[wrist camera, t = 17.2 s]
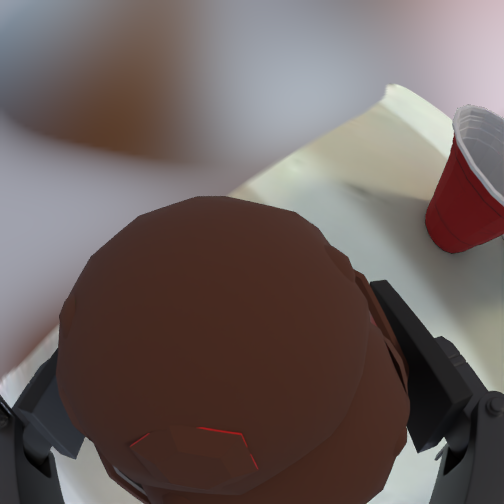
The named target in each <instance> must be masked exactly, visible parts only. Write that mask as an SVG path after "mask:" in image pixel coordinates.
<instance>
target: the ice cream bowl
mask: <svg viewBox="0 0 504 504" xmlns="http://www.w3.org/2000/svg"><path fill="white" fill-rule="evenodd" d="M59 319H60V327H59V343H58V359H57V368H56V379H57V385H58V391H59V396H60V398H61V401H62V403H63V405H64V407H65V410H66V412H67V414H68V416H69V418H70V420H71V422H72V424H73V426H74V427H75V428H76V429H78V430H79V431H80V432H81V433H82V434H83V435H84V436H86V437H87V438H88V439H89V440H90V441H92V442H93V443H94V445H95V447H96V450H97V452H98V454H99V456H100V459H101V461H102V463H103V465H104V467H105V469H106V471H107V473H108V475H109V477H110V478H111V479H112V480H114V481H115V482H116V483H117V484H119V485H120V486H121V487H122V488H124V489H125V490H126V491H128V492H129V493H130V494H132V495H133V496H134V497H136V498H137V499H138V500H140V501H141V502H143V503H144V504H366V503H367V502H369V501H370V500H371V499H372V498H374V497H375V496H376V495H377V494H378V493H379V492H381V491H382V490H383V488H384V486H385V484H386V481H387V479H388V477H389V474H390V472H391V469H392V467H393V464H394V461H395V459H396V456H398V455H399V454H400V452H401V451H402V449H403V448H404V446H405V445H406V443H407V428H406V425H407V422H408V418H409V415H410V400H409V397H408V386H407V382H408V376H409V365H408V363H407V361H406V358H405V356H404V354H403V352H402V350H401V347H400V345H399V343H398V341H397V339H396V337H395V334H394V332H393V330H392V328H391V326H390V324H389V322H388V320H387V318H386V316H385V314H384V312H383V310H382V308H381V306H380V304H379V302H378V300H377V298H376V296H375V294H374V292H373V290H372V289H371V287H370V285H369V283H368V281H367V279H366V277H365V276H364V275H363V274H362V273H360V272H358V271H356V270H354V269H353V268H352V265H351V263H350V261H349V258H348V257H347V256H346V255H345V254H343V253H342V252H340V251H339V250H337V249H336V248H335V247H333V246H331V245H330V244H329V242H328V241H327V240H326V238H325V237H324V235H323V234H322V233H321V231H320V230H319V228H317V227H316V226H314V225H313V224H311V223H310V222H309V221H307V220H306V219H304V218H303V217H301V216H300V215H299V214H297V213H296V212H293V211H289V210H284V209H280V208H276V207H272V206H267V205H263V204H259V203H254V202H250V201H245V200H240V199H236V198H231V197H226V196H201V197H200V196H199V197H194V198H191V199H187V200H184V201H181V202H179V203H175V204H172V205H169V206H166V207H163V208H160V209H157V210H154V211H151V212H149V213H146V214H143V215H140V216H138V217H137V218H136V219H135V220H133V221H132V222H131V223H130V224H128V225H127V226H126V227H125V228H124V229H123V230H121V231H120V232H119V233H118V234H116V235H115V236H114V237H113V238H112V239H111V240H109V241H108V242H107V243H106V244H105V245H104V246H103V247H101V248H100V249H99V250H98V251H97V252H96V253H95V254H93V255H92V256H91V257H90V259H89V261H88V262H87V264H86V266H85V268H84V270H83V271H82V273H81V274H80V276H79V278H78V280H77V282H76V283H75V285H74V287H73V289H72V291H71V293H70V295H69V297H68V298H67V299H66V301H65V302H64V305H63V307H62V310H61V313H60V315H59Z"/></svg>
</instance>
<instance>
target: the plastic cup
mask: <svg viewBox="0 0 504 504" xmlns="http://www.w3.org/2000/svg"><path fill="white" fill-rule="evenodd" d="M452 125H453V129H454V138H453V144H452V147H451V150H450V152H451V153H450V156H449V158H448V161H447V163H446V166H445V168H444V171H443V173H442V176H441V178H440V180H439V183H438V185H437V187H436V190H435V192H434V196H433V198H432V200H431V202H430V204H429V206H428V208H427V212H426V215H425V224H426V227H427V230H428V233H429V235H430V237H431V238H432V239H433V241H434V242H435V244H436V245H438V246H439V247H440V248H441V249H442V250H444V251H446V252H449V253H458V252H464V251H466V250H468V249H470V248H472V247H475V246H477V245H481V244H484V243H486V242H488V241H490V240H492V239H494V238H497V237H499V236H501V235H503V234H504V118H503V117H501V116H499V115H497V114H495V113H494V112H492V111H490V110H488V109H486V108H483V107H478V106H474V105H466V106H463V107H460V108H457V110H456V113H455V116H454V119H453V124H452Z"/></svg>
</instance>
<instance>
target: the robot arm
mask: <svg viewBox="0 0 504 504" xmlns="http://www.w3.org/2000/svg"><path fill="white" fill-rule="evenodd" d="M370 287H371V289H372V290H373V292H374V294H375V296H376V298H377V300H378V302H379V304H380V306H381V308H382V310H383V312H384V314H385V316H386V318H387V320H388V322H389V324H390V326H391V328H392V330H393V332H394V334H395V337H396V339H397V341H398V343H399V345H400V347H401V350H402V352H403V354H404V356H405V358H406V361H407V363H408V365H409V376H408V382H407V386H408V397H409V400H410V415H409V418H408V422H407V425H406V426H407V429H408V431H409V433H410V436H411V438H412V441H413V443H414V445H415V448H416V450H417V453H420V452H422V451H425V450H427V449H430V448H432V447H434V446H437V445H438V443H439V442H440V441H441V440H442V438H443V437H445V439H446V441H447V444H446V445H445V446H444V447H443V448H442V450H441V451H440V452H439V453H438V454H437V455H436V458H435V460H438V459H439V458H440V457H441V456H442V459H441V463H440V467H439V471H438V475H437V479H436V483H435V486H434V490H433V493H432V496H431V499H430V502H429V504H504V394H502V393H501V392H497V391H488V390H487V389H486V387H485V386H484V385H483V383H482V382H481V380H480V379H479V378H478V376H477V375H476V373H475V372H474V371H473V369H472V368H471V367H470V365H469V364H468V363H466V360H465V359H464V357H463V356H462V355H460V352H459V351H458V350H457V348H456V347H455V346H454V344H453V343H451V342H450V341H448V340H447V339H445V338H444V337H442V336H440V337H437V338H433V336H432V335H431V334H430V333H429V331H428V330H427V329H426V327H425V326H424V325H423V324H422V322H421V321H420V320H419V319H418V317H417V316H416V315H415V314H414V312H413V311H412V310H411V309H410V308H409V306H408V305H407V304H406V303H405V301H404V300H403V299H402V298H401V297H400V296H399V294H398V293H397V292H396V291H395V290H394V288H393V287H392V286H391V285H390V284H389V283H388V282H387V280H380V281H373V282H370ZM57 359H58V348H57V350H56V351H55V352H54V354H53V355H52V356H51V358H50V359H48V360H47V361H46V362H45V363H43V364H42V365H41V366H40V367H39V369H38V370H37V371H36V373H35V374H34V377H32V379H31V380H30V383H28V385H27V386H26V387H25V389H24V390H23V392H22V394H21V395H20V397H19V398H18V400H17V401H16V403H15V404H14V406H13V407H12V409H11V408H10V407H9V405H8V404H7V403H6V402H5V400H4V399H3V398H2V396H1V395H0V504H65V503H64V500H63V496H62V492H61V488H60V483H59V479H58V474H57V469H56V463H55V458H54V455H53V453H52V452H51V451H50V449H51V447H52V446H53V447H54V448H55V449H56V450H57V451H58V452H59V453H60V454H62V455H65V456H68V457H70V458H73V459H76V457H77V455H78V452H79V450H80V447H81V445H82V443H83V440H84V438H85V436H84V435H83V434H82V433H81V432H80V431H79V430H78V429H76V428H75V427H74V426H73V424H72V422H71V420H70V418H69V416H68V414H67V412H66V410H65V407H64V405H63V403H62V401H61V398H60V396H59V391H58V385H57V379H56V368H57Z"/></svg>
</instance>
